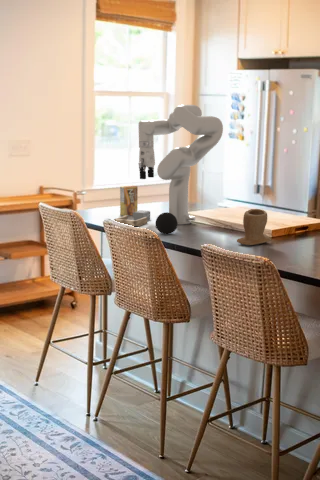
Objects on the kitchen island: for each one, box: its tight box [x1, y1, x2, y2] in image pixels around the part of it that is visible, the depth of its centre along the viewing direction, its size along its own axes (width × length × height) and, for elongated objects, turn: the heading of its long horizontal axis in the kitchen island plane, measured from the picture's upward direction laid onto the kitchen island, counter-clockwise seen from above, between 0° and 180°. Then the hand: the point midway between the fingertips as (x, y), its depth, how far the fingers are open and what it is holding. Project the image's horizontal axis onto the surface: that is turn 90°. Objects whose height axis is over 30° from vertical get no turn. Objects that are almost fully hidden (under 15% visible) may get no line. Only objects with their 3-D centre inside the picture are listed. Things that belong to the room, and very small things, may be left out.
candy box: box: [119, 185, 138, 217], centre depth 382 cm, size 9×4×15 cm, turn 129°
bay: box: [113, 215, 148, 227], centre depth 355 cm, size 12×12×3 cm
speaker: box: [155, 212, 178, 235], centre depth 328 cm, size 10×10×10 cm
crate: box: [132, 210, 151, 222], centre depth 366 cm, size 6×8×5 cm
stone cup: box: [236, 208, 272, 246], centre depth 305 cm, size 15×12×15 cm
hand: (146, 178), depth 371 cm, fingers open, 9 cm apart
